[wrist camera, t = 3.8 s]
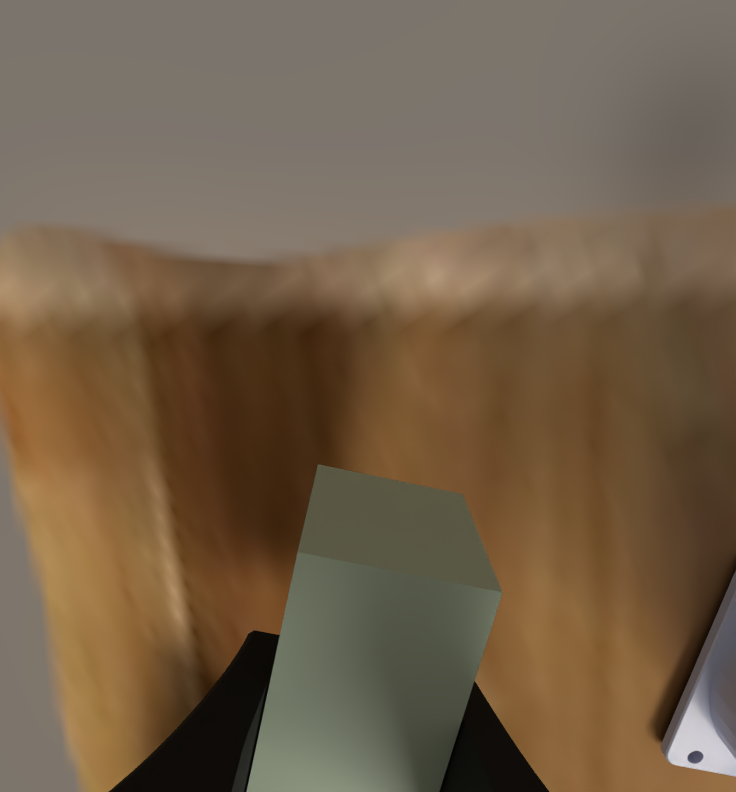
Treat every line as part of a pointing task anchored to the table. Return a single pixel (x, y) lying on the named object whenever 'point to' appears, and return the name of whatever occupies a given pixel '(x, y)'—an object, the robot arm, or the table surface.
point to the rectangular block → (375, 640)
